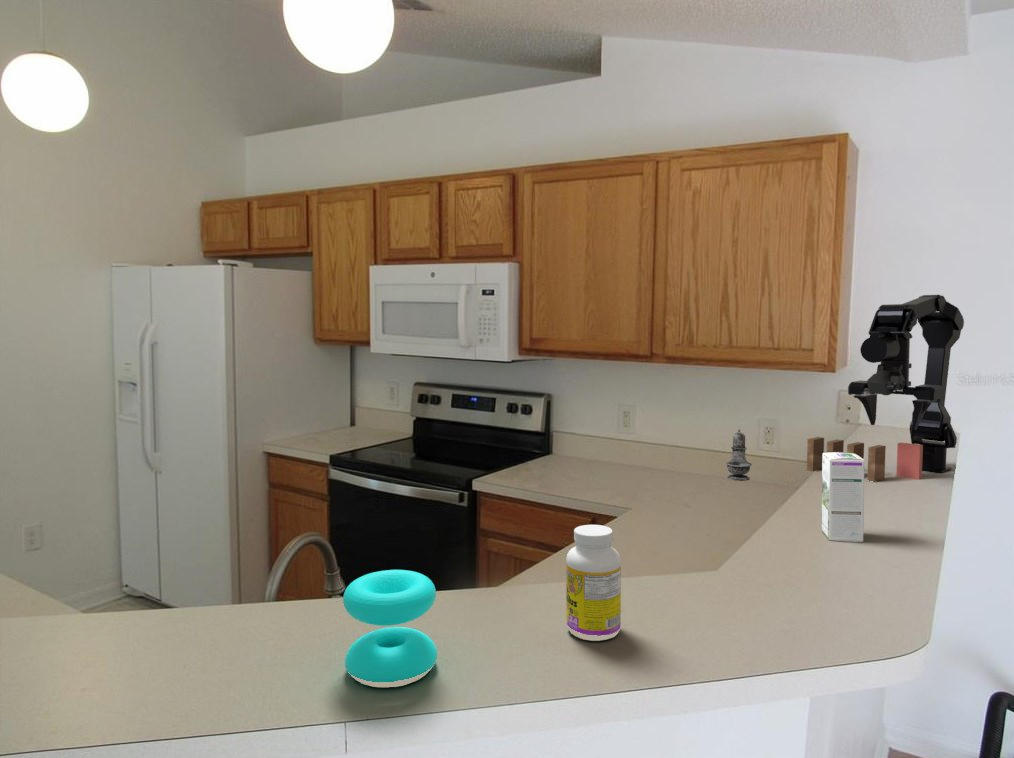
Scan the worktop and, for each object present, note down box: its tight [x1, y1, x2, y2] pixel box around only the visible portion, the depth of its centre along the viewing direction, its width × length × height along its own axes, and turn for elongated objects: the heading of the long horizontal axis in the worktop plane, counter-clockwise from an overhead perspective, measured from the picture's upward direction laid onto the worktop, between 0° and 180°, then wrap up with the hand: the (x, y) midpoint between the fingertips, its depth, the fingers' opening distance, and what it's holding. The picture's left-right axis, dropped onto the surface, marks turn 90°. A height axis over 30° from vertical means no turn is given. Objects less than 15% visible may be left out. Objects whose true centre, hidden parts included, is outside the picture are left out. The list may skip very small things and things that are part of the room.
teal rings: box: [342, 569, 438, 682], centre depth 76 cm, size 10×10×10 cm
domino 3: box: [846, 441, 865, 460], centre depth 167 cm, size 2×5×8 cm, turn 127°
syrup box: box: [820, 451, 865, 543], centre depth 121 cm, size 6×6×14 cm
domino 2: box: [826, 439, 845, 453], centre depth 171 cm, size 2×5×8 cm, turn 127°
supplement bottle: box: [565, 524, 622, 636], centre depth 85 cm, size 7×7×13 cm
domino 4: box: [867, 444, 887, 483], centre depth 163 cm, size 2×5×8 cm, turn 127°
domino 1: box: [806, 436, 825, 472], centre depth 175 cm, size 2×5×8 cm, turn 127°
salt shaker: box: [725, 428, 752, 482], centre depth 166 cm, size 6×6×12 cm
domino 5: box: [895, 442, 923, 480], centre depth 165 cm, size 2×5×8 cm, turn 37°
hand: (893, 427), depth 159 cm, fingers open, 9 cm apart
